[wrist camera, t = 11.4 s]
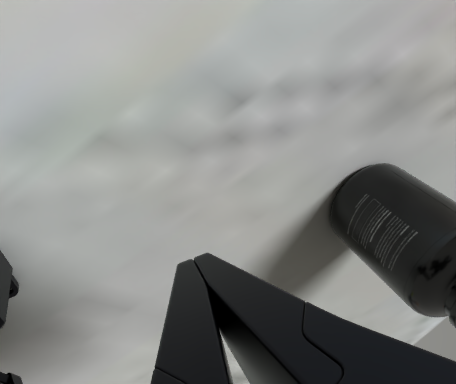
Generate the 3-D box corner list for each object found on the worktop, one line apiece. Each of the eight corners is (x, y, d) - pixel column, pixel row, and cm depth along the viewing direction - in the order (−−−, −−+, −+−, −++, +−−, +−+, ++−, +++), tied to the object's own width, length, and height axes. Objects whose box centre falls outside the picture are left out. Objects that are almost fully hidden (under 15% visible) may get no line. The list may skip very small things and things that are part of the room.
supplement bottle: (345, 249, 32) (470, 378, 22) (312, 203, 27) (448, 337, 18) (411, 196, 31) (567, 304, 22) (388, 141, 27) (569, 245, 17)
